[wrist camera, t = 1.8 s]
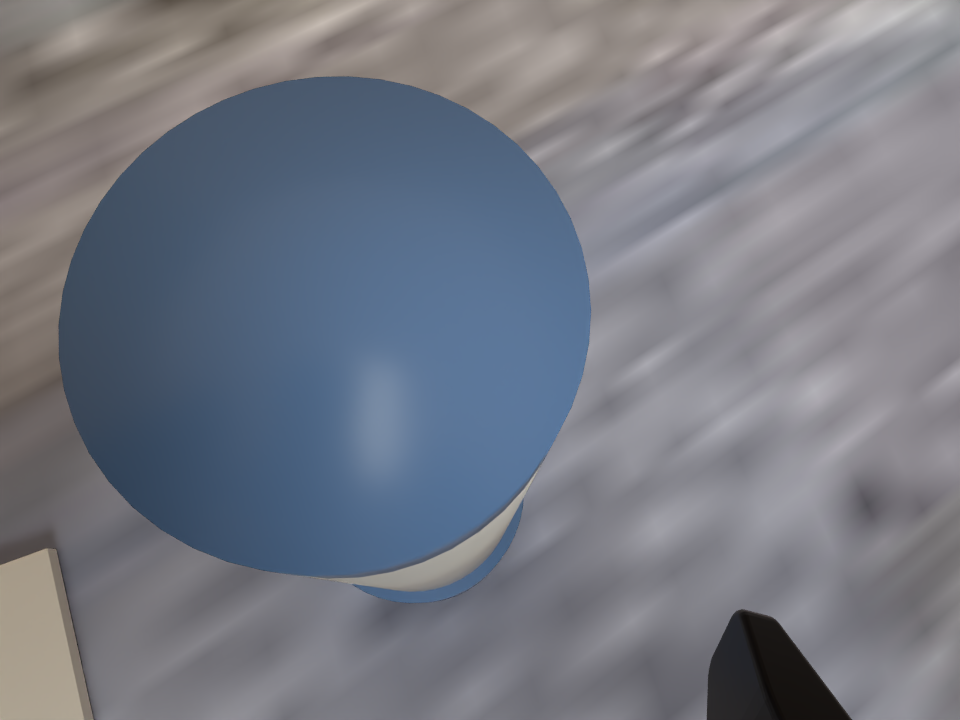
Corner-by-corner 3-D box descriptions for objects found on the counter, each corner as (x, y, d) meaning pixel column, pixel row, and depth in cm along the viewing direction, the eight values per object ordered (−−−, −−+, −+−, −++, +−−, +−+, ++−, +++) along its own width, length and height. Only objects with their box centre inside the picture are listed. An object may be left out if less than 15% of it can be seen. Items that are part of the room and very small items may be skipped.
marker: (542, 561, 18) (716, 471, 5) (364, 631, 17) (104, 709, 5) (476, 392, 19) (495, -6, 7) (307, 453, 18) (-21, 147, 6)
